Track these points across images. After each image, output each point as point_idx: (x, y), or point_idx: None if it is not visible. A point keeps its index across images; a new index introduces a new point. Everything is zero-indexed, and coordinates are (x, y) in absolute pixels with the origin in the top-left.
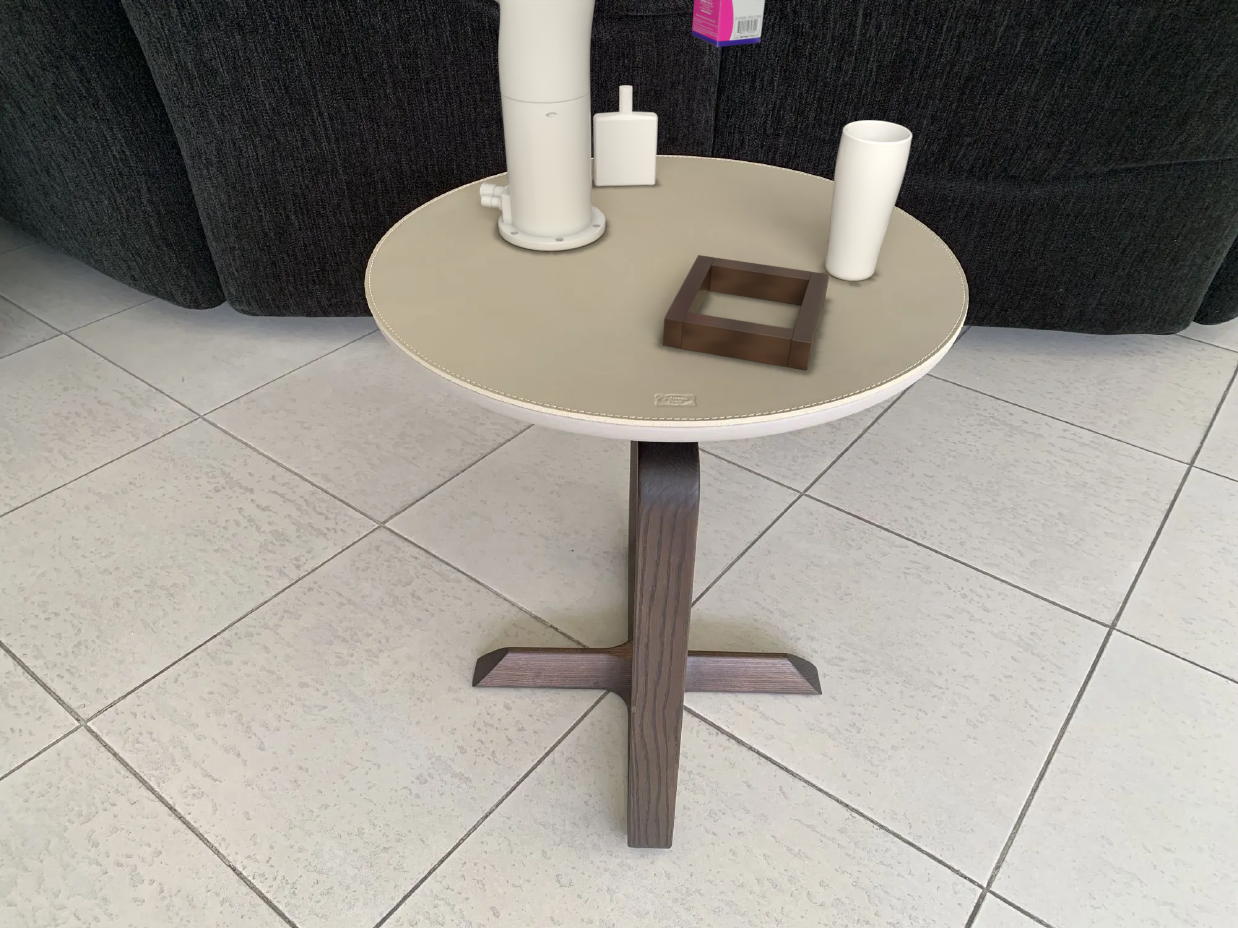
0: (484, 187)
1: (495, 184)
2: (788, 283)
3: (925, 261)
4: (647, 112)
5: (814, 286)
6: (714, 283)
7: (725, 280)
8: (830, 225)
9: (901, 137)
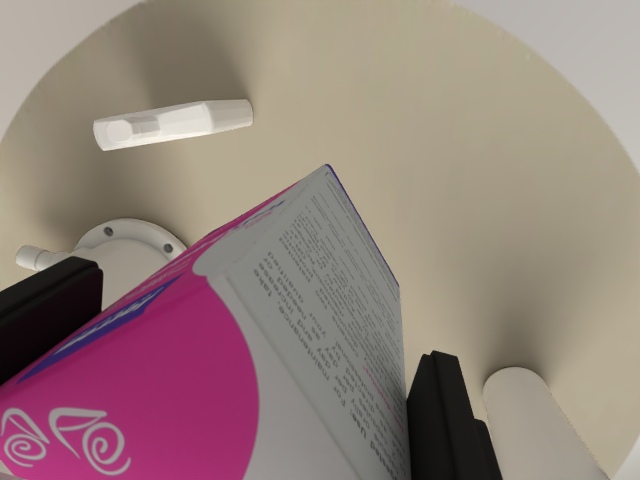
0: (23, 266)
1: (33, 261)
2: None
3: (632, 364)
4: (189, 109)
5: None
6: None
7: None
8: (490, 430)
9: None
